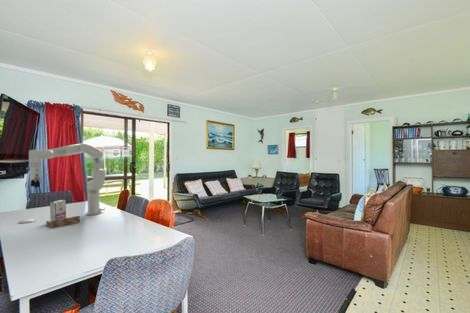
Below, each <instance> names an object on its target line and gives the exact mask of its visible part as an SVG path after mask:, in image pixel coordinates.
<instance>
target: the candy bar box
mask: <svg viewBox="0 0 470 313" xmlns="http://www.w3.org/2000/svg"><path fill="white" fill-rule="evenodd" d="M66 203H67V200H66V199H59V200H56V201H55V200H54V201H52V202H49V209H50V210H49V211H50V214H49V216H50V217H49V219H50V221H49V222H51V221H53V220H58V219H64V218H67V213H66V212H67V206H66V205H67V204H66Z"/></svg>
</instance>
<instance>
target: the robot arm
mask: <svg viewBox="0 0 470 313" xmlns="http://www.w3.org/2000/svg"><path fill="white" fill-rule="evenodd" d="M82 153H85V154H87V155H89V157H90V158H91V159H92V161H93V162H92V168H91V171H90V176H91V178H92V179H91V180H89V181H87V182H86V183H87V184H86V191H87V192H86V194H87V212H85V215H86V216H96V215H99V214H101V213H102V211H105V210H106V208H105V207H100V191H101V190H102V189H103V186H104V183H105V179H106V171H105V170H104V169H103V168H104V165H105V164H104V163H105V160H104V158H103V155H104V152H103V151H102V150H101V149H99V148H98V147H95V146H94V145H92V144H89V143H88V142H80V143H76V144H69V145H64V146H59V147H56V148H50V149H41V150H40V149H29V150H28V167H29V168H30V169H29V170H30V175H29V176H30V187H33V188H41V181H40V180H41V179H42V159H43V160H49V159H52V158H58V157H67V156H73V155H78V154H82Z"/></svg>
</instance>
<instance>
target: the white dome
mask: <svg viewBox="0 0 470 313" xmlns="http://www.w3.org/2000/svg"><path fill="white" fill-rule="evenodd" d="M36 221H37V220H36V218H25V219H21V220H19V223H18V224H29V223H34V222H36Z"/></svg>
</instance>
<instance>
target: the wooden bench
mask: <svg viewBox="0 0 470 313" xmlns="http://www.w3.org/2000/svg"><path fill="white" fill-rule="evenodd" d="M80 222H81V216H80V215H77V216H76V215H75V216H70V217H66V218H64V219H58V220H53V221H51V222H50V221H49V220H46V226H48V227H49V228H57V227H61V226H67V225H71V224H78V223H80Z"/></svg>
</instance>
